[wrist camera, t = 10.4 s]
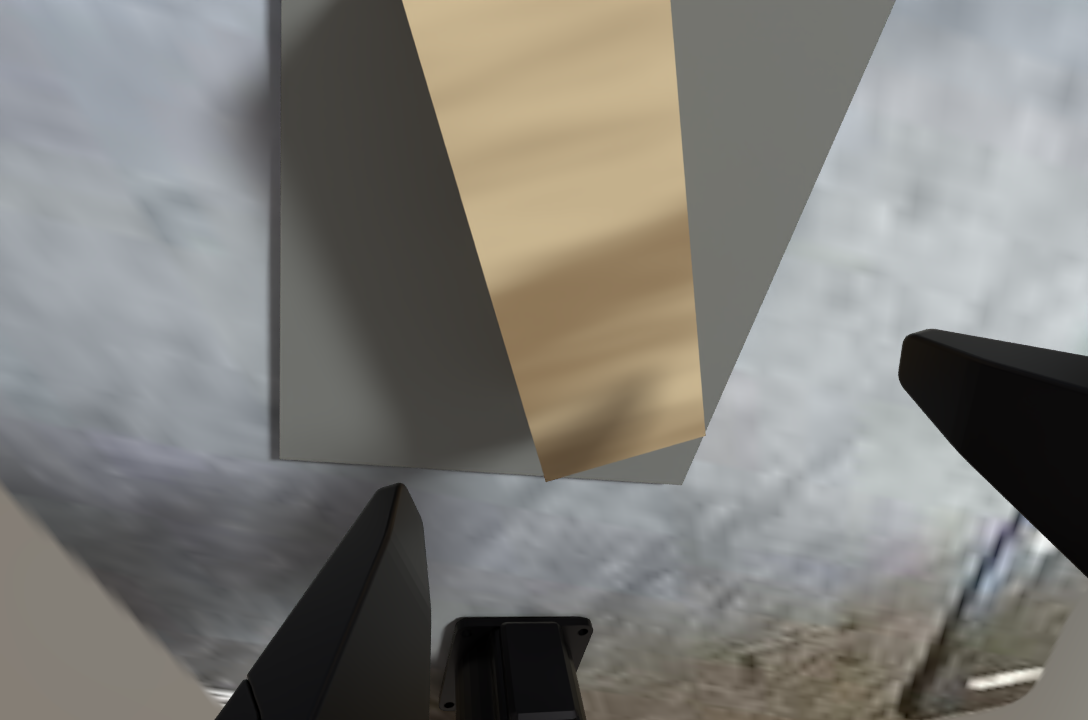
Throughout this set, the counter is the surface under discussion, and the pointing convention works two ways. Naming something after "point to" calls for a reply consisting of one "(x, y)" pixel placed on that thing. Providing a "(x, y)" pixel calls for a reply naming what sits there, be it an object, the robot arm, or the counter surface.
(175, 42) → the counter surface
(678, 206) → the block
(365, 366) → the mat
